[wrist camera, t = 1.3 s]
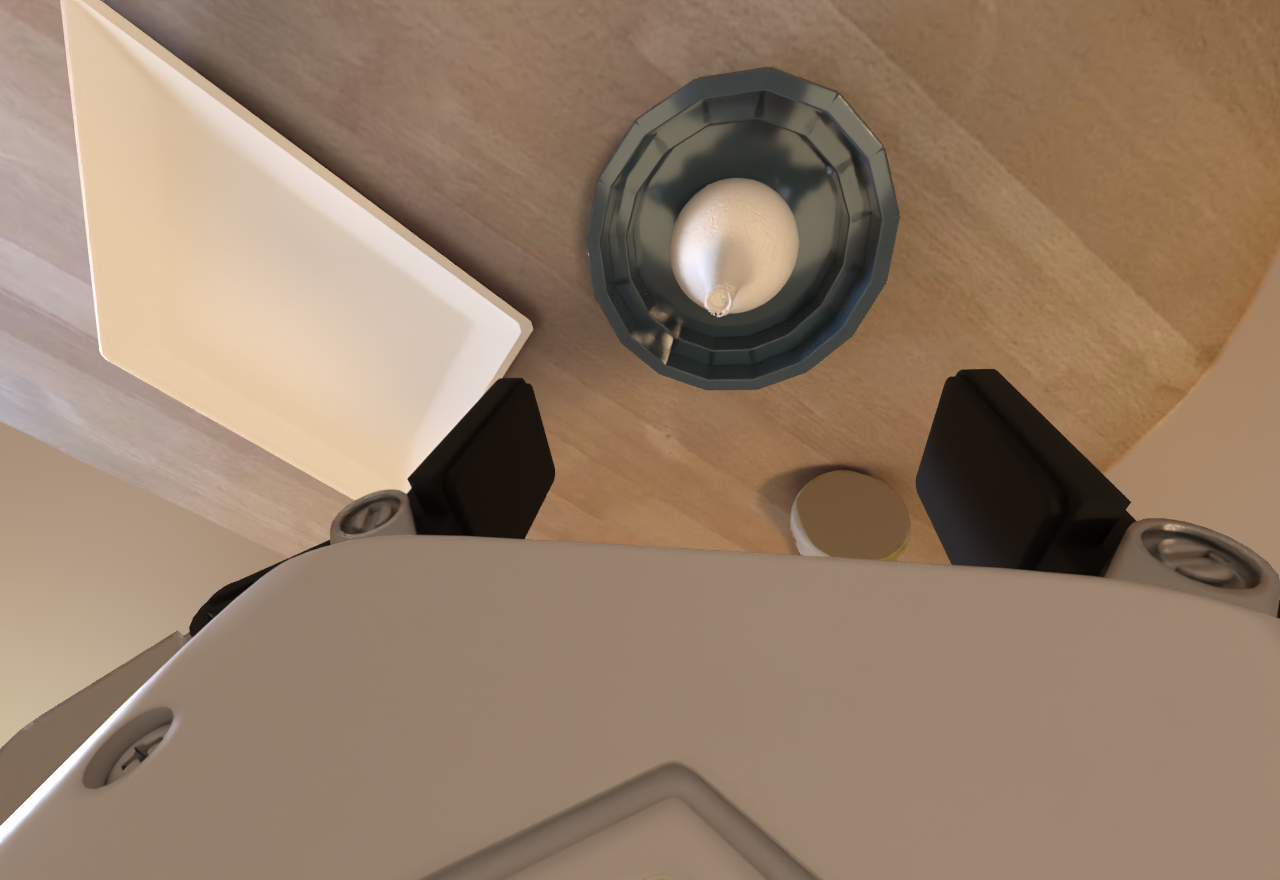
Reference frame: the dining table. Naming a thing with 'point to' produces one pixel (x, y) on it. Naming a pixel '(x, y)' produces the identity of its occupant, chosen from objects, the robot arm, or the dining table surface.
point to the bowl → (789, 164)
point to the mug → (849, 518)
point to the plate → (266, 274)
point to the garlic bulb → (734, 246)
